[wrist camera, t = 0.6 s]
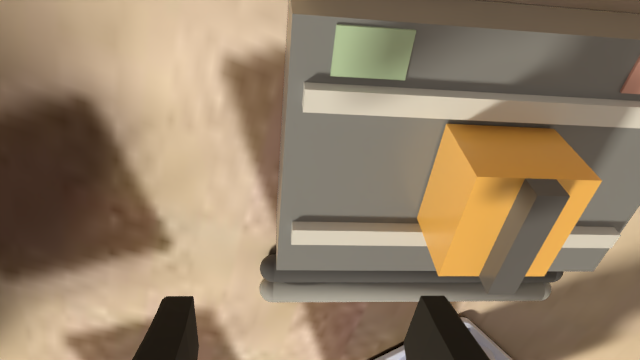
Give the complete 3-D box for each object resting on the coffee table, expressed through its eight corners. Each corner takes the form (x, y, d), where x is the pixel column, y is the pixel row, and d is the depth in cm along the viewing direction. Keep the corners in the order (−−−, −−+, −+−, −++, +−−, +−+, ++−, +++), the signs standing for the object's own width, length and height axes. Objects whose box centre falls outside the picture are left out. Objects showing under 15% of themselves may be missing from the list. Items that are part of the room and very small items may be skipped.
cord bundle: (559, 251, 25) (572, 270, 24) (538, 286, 27) (549, 306, 26) (260, 248, 23) (260, 269, 22) (259, 286, 25) (259, 307, 24)
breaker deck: (684, 17, 17) (762, 54, 14) (561, 227, 24) (599, 279, 21) (289, -16, 15) (292, 19, 13) (276, 222, 22) (276, 279, 19)
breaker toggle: (554, 128, 16) (617, 197, 13) (510, 219, 19) (554, 294, 16) (446, 123, 16) (487, 194, 13) (416, 217, 18) (445, 294, 15)
